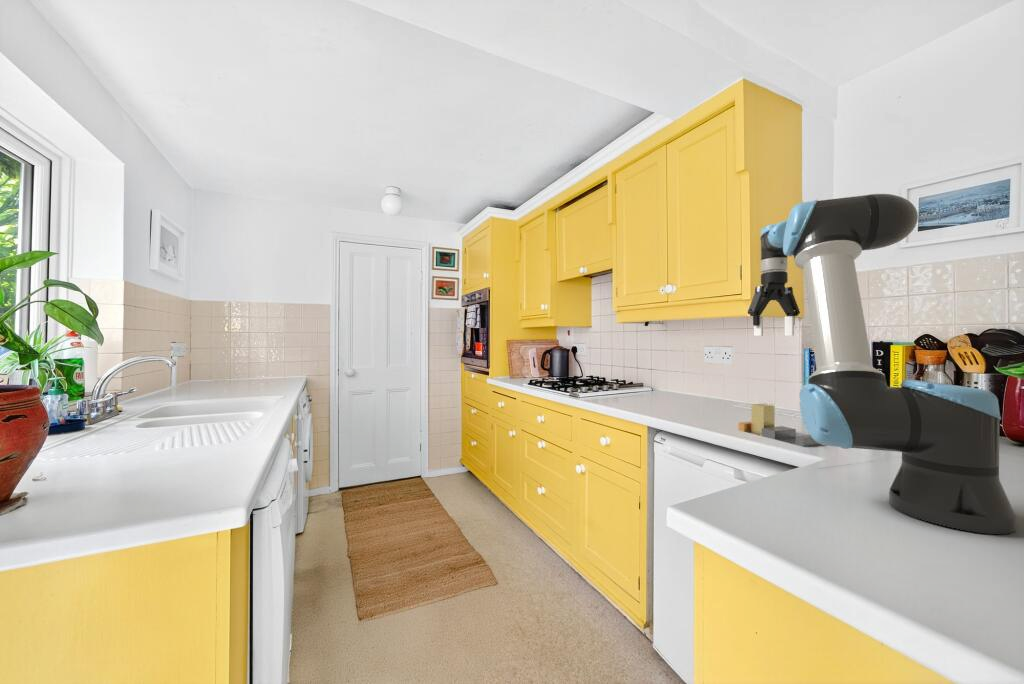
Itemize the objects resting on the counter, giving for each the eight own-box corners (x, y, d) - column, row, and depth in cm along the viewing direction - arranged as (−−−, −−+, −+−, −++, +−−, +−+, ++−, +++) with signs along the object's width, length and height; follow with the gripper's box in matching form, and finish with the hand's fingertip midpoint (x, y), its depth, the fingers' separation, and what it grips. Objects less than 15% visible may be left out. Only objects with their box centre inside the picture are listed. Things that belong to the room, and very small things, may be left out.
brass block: (763, 434, 128) (763, 406, 128) (751, 431, 132) (751, 404, 132) (774, 433, 129) (774, 405, 129) (761, 430, 133) (761, 403, 133)
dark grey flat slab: (803, 448, 114) (803, 437, 114) (738, 431, 135) (738, 422, 135) (825, 445, 116) (825, 435, 116) (758, 429, 137) (758, 420, 137)
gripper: (755, 268, 128) (755, 335, 128) (812, 272, 135) (812, 335, 135) (735, 272, 135) (735, 335, 135) (791, 275, 142) (791, 335, 142)
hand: (774, 335), depth 135 cm, fingers open, 13 cm apart
